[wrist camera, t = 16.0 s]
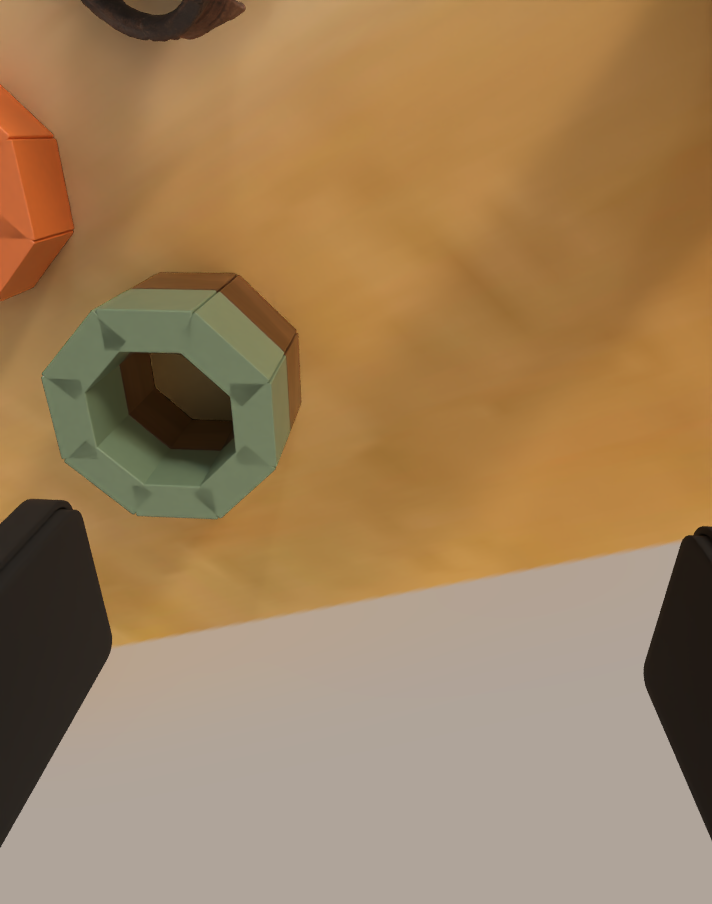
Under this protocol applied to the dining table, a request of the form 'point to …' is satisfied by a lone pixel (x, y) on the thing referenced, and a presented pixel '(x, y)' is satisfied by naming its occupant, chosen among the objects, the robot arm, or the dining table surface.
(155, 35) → the brown knot
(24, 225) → the ring top
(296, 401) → the ring bottom
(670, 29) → the dining table surface
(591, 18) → the dining table surface
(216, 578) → the dining table surface
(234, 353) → the ring middle
